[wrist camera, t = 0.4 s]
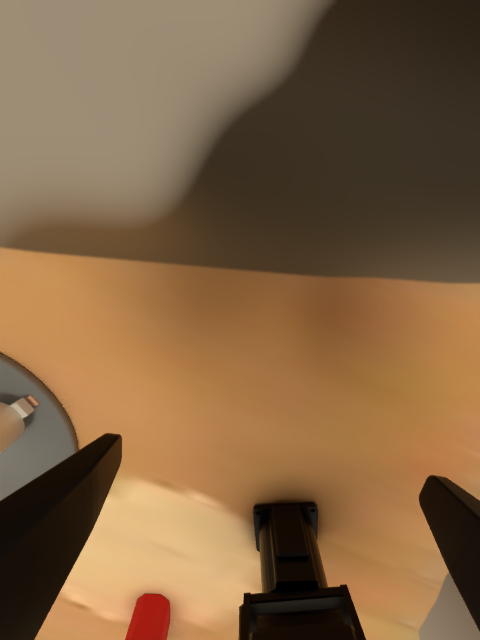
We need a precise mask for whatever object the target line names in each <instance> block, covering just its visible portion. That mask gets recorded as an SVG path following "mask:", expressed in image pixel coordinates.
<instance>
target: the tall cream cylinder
mask: <svg viewBox="0 0 480 640" xmlns="http://www.w3.org/2000/svg"><path fill="white" fill-rule="evenodd" d="M34 410H35V409H34V408H33V407H32V406H31V405H30V404H29V403H28V402H27V401H26V400H25V399H24V398H21V399H19V400H17V401H16V402H14V403H12V404H10V405H7V404H5V403H2V402H0V454H1V453H3V452H4V451H5V450H6V449H7V448H8V447H9V446H10V445H11V444H13V443H14V442H15V441H16V440H17V439H18V438H19V437H20V436H21V435H22V434H23V432H24V429H25V424H24V421H23V418H24V417H26V416H28V415H29V414H30V413H32V412H33V411H34Z"/></svg>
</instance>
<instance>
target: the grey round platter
mask: <svg viewBox="0 0 480 640" xmlns="http://www.w3.org/2000/svg"><path fill="white" fill-rule="evenodd" d="M21 398H24V399H25V400H26V401H27V402H28V403H29V404H30V405H31V406H32V407H33V408H34V409H35V410H34V411H33V412H32V413H30V414H29V415H28V416H26V417H24V418H23V421H24V424H25V429H24V432H23V434H22V435H21V436H20V437H19V438H18V439H17V440H16V441H15V442H14V443H13V444H11V445H10V446H9V447H8V448H7V449H6V450H5V451H4V452H3V453H1V454H0V501H1V500H2V499H4V498H5V497H7V496H8V495H10V494H12V493H13V492H15V491H16V490H18V489H19V488H21V487H22V486H24V485H26V484H27V483H29V482H30V481H32V480H33V479H35V478H37V477H38V476H40V475H41V474H43V473H44V472H46V471H48V470H49V469H51V468H52V467H54V466H55V465H57V464H58V463H60V462H62V461H63V460H65V459H66V458H68V457H69V456H71V455H73V454H74V453H76V452H77V451H78V442H77V438H76V434H75V430H74V428H73V426H72V423H71V421H70V419H69V417H68V415H67V413H66V412H65V410H64V408H63V407H62V405H61V404H60V403H59V401H58V400H57V399H56V397H55V396H54V395H53V393H52V392H51V391H50V390H49V389H48V388H47V387H46V386H45V385H44V384H43V383H42V382H41V381H40V380H39V379H38V378H36V377H35V376H34V375H33V374H32V373H31V372H29V371H28V370H27V369H25V368H24V367H22V366H21V365H20V364H18V363H17V362H15V361H14V360H12V359H10V358H8V357H7V356H5V355H3V354H1V353H0V402H2V403H5V404H7V405H10V404H12V403H14V402H16V401H17V400H19V399H21Z"/></svg>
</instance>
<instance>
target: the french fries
mask: <svg viewBox="0 0 480 640" xmlns="http://www.w3.org/2000/svg"><path fill="white" fill-rule="evenodd" d="M169 624H170V604H169V601H168V600H167V599H166V598H165V597H163V596H162V595H156V594H144V595H143V596H141V597H140V598H139V599H137V602H136V606H135V609H134V612H133V616H132V619H131V622H130V625H129V629H128V632H127V635H126V638H125V640H167V635H168V629H169Z"/></svg>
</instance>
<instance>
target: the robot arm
mask: <svg viewBox="0 0 480 640" xmlns="http://www.w3.org/2000/svg"><path fill="white" fill-rule="evenodd" d="M121 459H122V437H121V435H119V434H112V433H106V434H104V435H102V436H101V437H99V438H98V439H96V440H94V441H93V442H91V443H90V444H88V445H87V446H85V447H83V448H82V449H80V450H79V451H77V452H76V453H74V454H73V455H71V456H69V457H68V458H66V459H65V460H63V461H62V462H60V463H58V464H57V465H55V466H54V467H52V468H51V469H49V470H48V471H46V472H44V473H43V474H41V475H40V476H38V477H37V478H35V479H33V480H32V481H30V482H29V483H27V484H26V485H24V486H22V487H21V488H19V489H18V490H16V491H15V492H13V493H12V494H10V495H8V496H7V497H5V498H4V499H2V500H1V501H0V640H34V639H35V637H36V636H37V634H38V632H39V630H40V628H41V626H42V624H43V622H44V620H45V619H46V617H47V615H48V613H49V611H50V609H51V607H52V605H53V604H54V602H55V600H56V598H57V596H58V594H59V592H60V590H61V588H62V587H63V585H64V583H65V581H66V579H67V577H68V575H69V573H70V572H71V570H72V568H73V566H74V564H75V562H76V560H77V558H78V556H79V555H80V553H81V551H82V549H83V547H84V545H85V543H86V541H87V540H88V538H89V536H90V534H91V532H92V530H93V528H94V525H95V523H96V521H97V519H98V516H99V514H100V512H101V509H102V507H103V504H104V502H105V500H106V497H107V495H108V493H109V490H110V488H111V486H112V483H113V481H114V478H115V476H116V474H117V471H118V469H119V467H120V464H121ZM419 502H420V506H421V508H422V511H423V513H424V515H425V517H426V520H427V522H428V524H429V527H430V529H431V531H432V534H433V536H434V538H435V541H436V543H437V545H438V548H439V550H440V552H441V555H442V557H443V559H444V561H445V564H446V566H447V568H448V570H449V572H450V574H451V576H452V578H453V580H454V582H455V584H456V586H457V588H458V590H459V592H460V594H461V596H462V598H463V600H464V602H465V604H466V606H467V608H468V610H469V611H470V614H471V616H472V618H473V619H474V621H475V623H476V625H477V627H478V629H479V631H480V501H479V500H478V499H477V498H475V497H474V496H472V495H471V494H469V493H468V492H466V491H465V490H464V489H462V488H461V487H459V486H458V485H456V484H455V483H453V482H452V481H451V480H449V479H448V478H446V477H442V476H435V475H430V476H429V477H428V478H427V479H426V481H425V484H424V486H423V488H422V490H421V492H420V495H419ZM253 513H254V525H255V536H256V548H257V551H259V552H260V561H261V579H262V593H256V594H251V593H244V603H243V604H242V605H241V606H240V607H239V640H366V638H365V636H364V633H363V630H362V627H361V624H360V621H359V618H358V616H357V613H356V610H355V607H354V604H353V601H352V599H351V596H350V593H349V590H348V587H347V585H346V584H345V585H340V587H328V585H327V581H326V577H325V573H324V569H323V565H322V560H321V556H320V552H319V548H318V544H317V522H318V509H317V505H316V504H315V503H298V504H277V505H257V506H255V507H254V508H253Z"/></svg>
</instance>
